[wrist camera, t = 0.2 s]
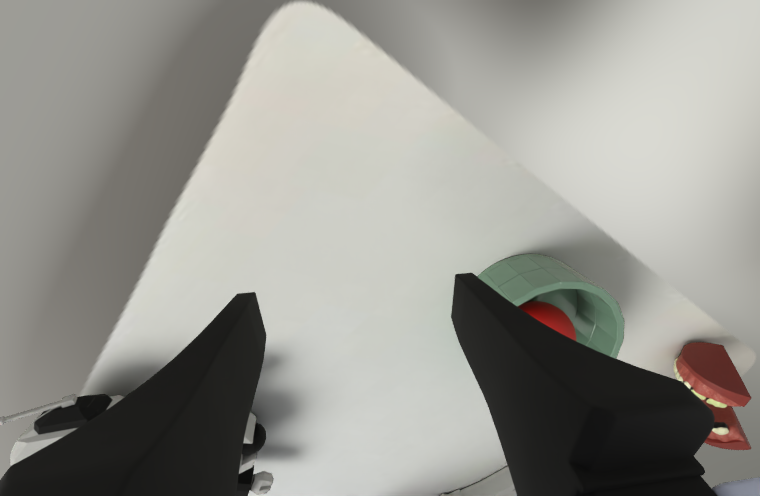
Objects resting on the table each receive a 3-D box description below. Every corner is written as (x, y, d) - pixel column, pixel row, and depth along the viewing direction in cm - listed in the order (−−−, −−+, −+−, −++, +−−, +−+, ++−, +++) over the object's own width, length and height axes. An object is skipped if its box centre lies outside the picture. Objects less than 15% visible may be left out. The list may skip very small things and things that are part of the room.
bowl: (512, 384, 29) (542, 430, 25) (429, 325, 26) (447, 365, 22) (602, 301, 27) (651, 335, 23) (525, 227, 24) (565, 250, 20)
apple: (518, 352, 27) (559, 405, 22) (479, 322, 26) (514, 372, 21) (562, 311, 26) (615, 357, 21) (524, 277, 25) (572, 319, 20)
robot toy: (256, 342, 26) (22, 379, 23) (247, 386, 22) (-39, 436, 19) (280, 460, 30) (87, 501, 28) (277, 515, 26) (49, 569, 24)
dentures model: (674, 382, 27) (683, 451, 30) (752, 386, 24) (753, 460, 27) (660, 333, 31) (669, 397, 34) (725, 332, 29) (728, 401, 31)
